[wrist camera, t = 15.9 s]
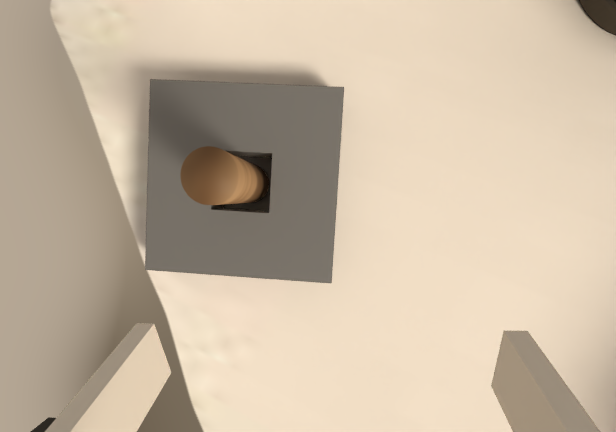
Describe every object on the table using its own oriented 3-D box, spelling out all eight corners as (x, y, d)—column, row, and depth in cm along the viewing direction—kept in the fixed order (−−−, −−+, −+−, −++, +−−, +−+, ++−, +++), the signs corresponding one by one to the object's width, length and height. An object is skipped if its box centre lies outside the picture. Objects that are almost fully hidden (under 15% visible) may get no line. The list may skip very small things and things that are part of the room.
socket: (341, 99, 35) (344, 87, 31) (330, 273, 36) (331, 283, 32) (169, 92, 36) (150, 79, 32) (164, 262, 37) (145, 269, 33)
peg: (269, 165, 36) (239, 147, 23) (268, 203, 36) (236, 206, 23) (232, 163, 36) (181, 144, 23) (230, 201, 37) (179, 203, 24)
